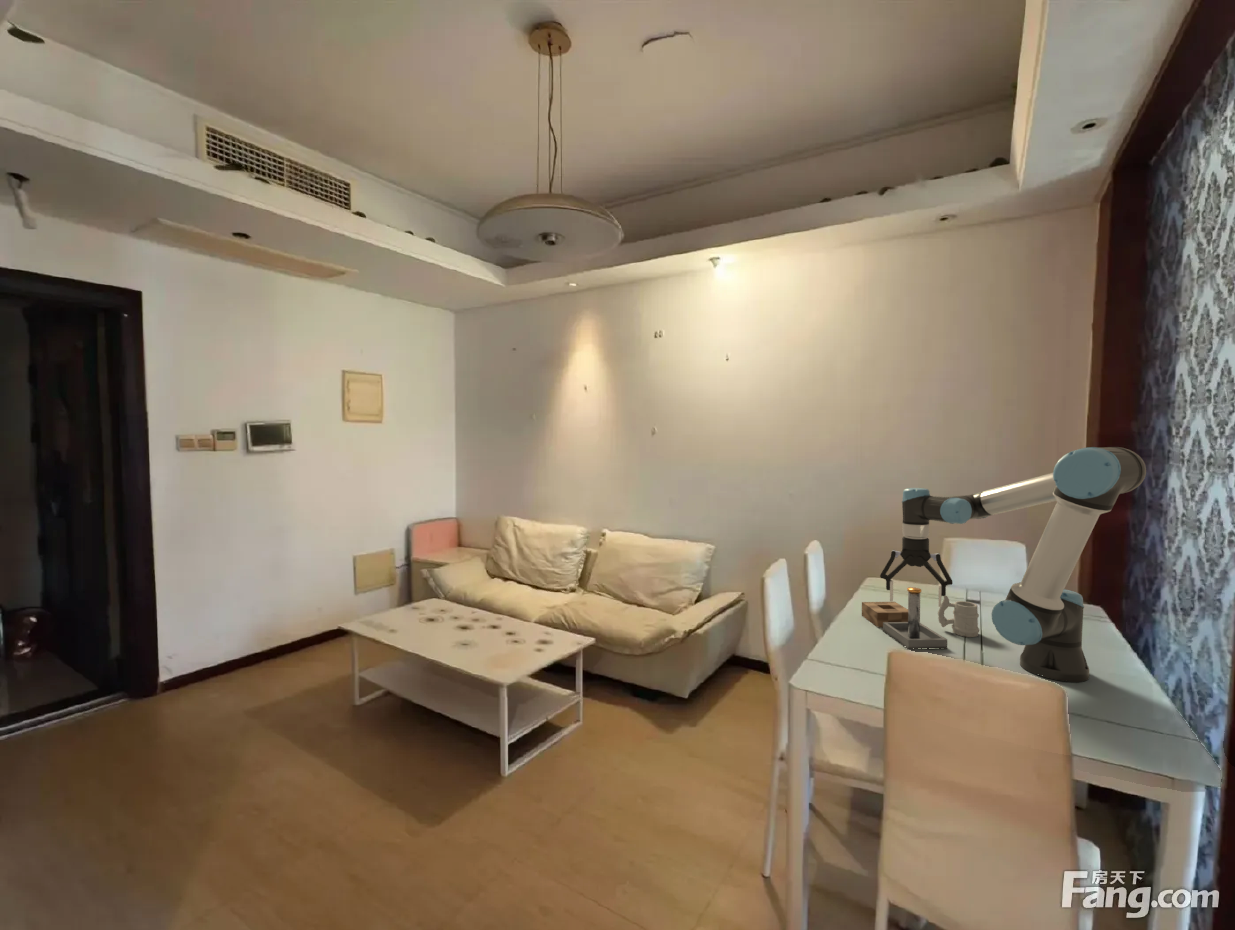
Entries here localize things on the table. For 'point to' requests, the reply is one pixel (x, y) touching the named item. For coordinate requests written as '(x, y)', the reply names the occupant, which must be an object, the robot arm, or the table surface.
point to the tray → (926, 639)
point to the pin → (914, 612)
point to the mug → (960, 617)
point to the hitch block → (884, 612)
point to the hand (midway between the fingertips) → (915, 603)
